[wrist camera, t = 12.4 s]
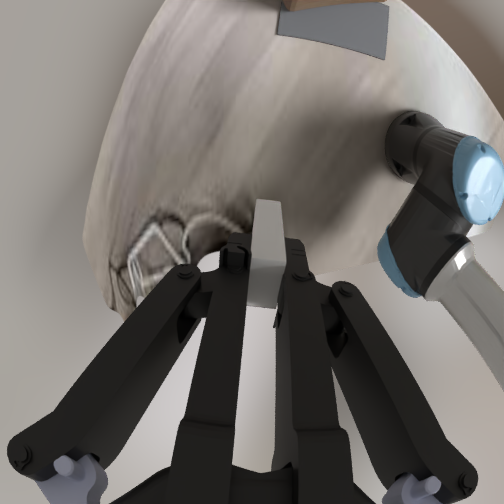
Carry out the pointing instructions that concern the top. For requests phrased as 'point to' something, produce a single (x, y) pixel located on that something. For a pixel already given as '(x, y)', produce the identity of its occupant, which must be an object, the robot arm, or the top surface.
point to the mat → (340, 26)
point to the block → (319, 3)
